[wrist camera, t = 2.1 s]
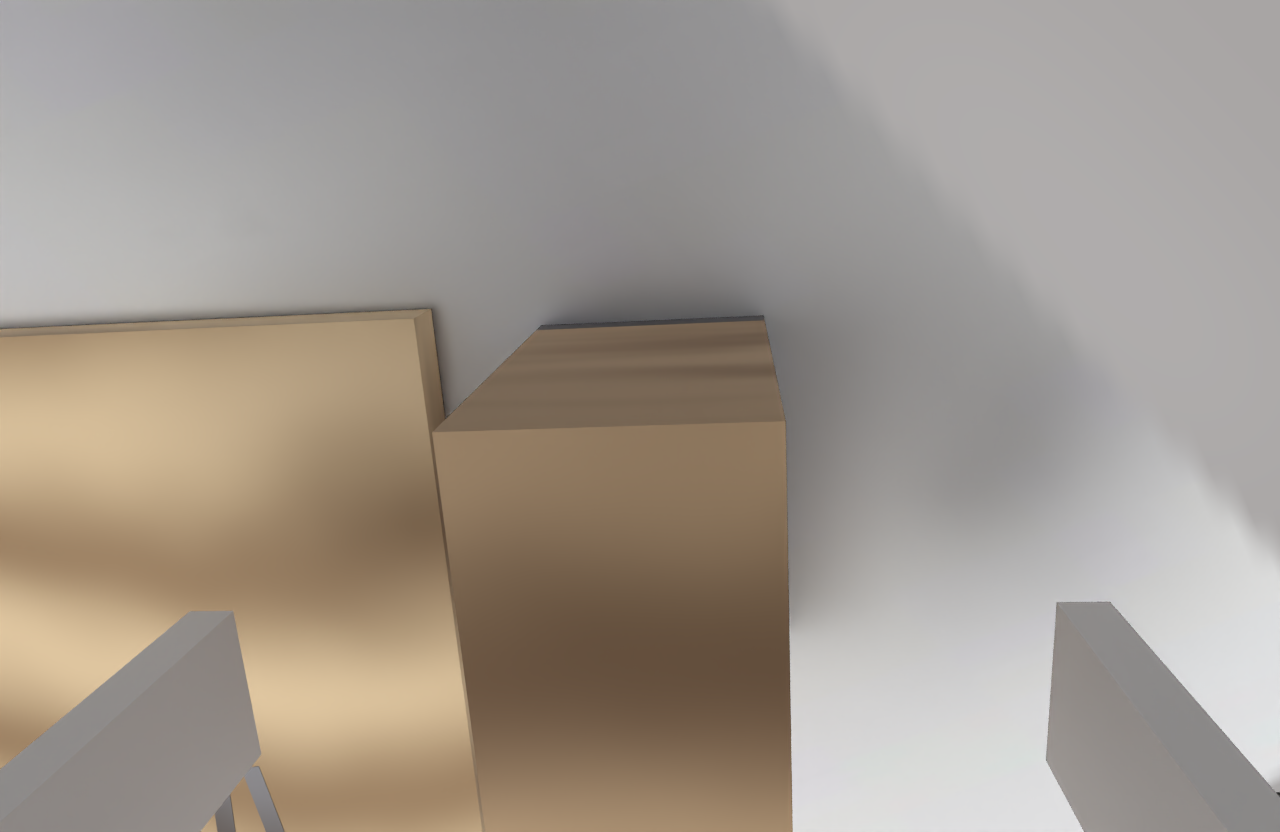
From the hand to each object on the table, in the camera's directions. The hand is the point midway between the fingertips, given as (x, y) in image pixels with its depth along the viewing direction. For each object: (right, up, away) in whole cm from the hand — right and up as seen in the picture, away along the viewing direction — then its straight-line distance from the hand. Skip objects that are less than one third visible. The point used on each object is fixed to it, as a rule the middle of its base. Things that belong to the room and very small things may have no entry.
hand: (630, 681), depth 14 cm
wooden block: (+1, +3, +7) cm, 7 cm away
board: (-11, -5, +10) cm, 16 cm away
